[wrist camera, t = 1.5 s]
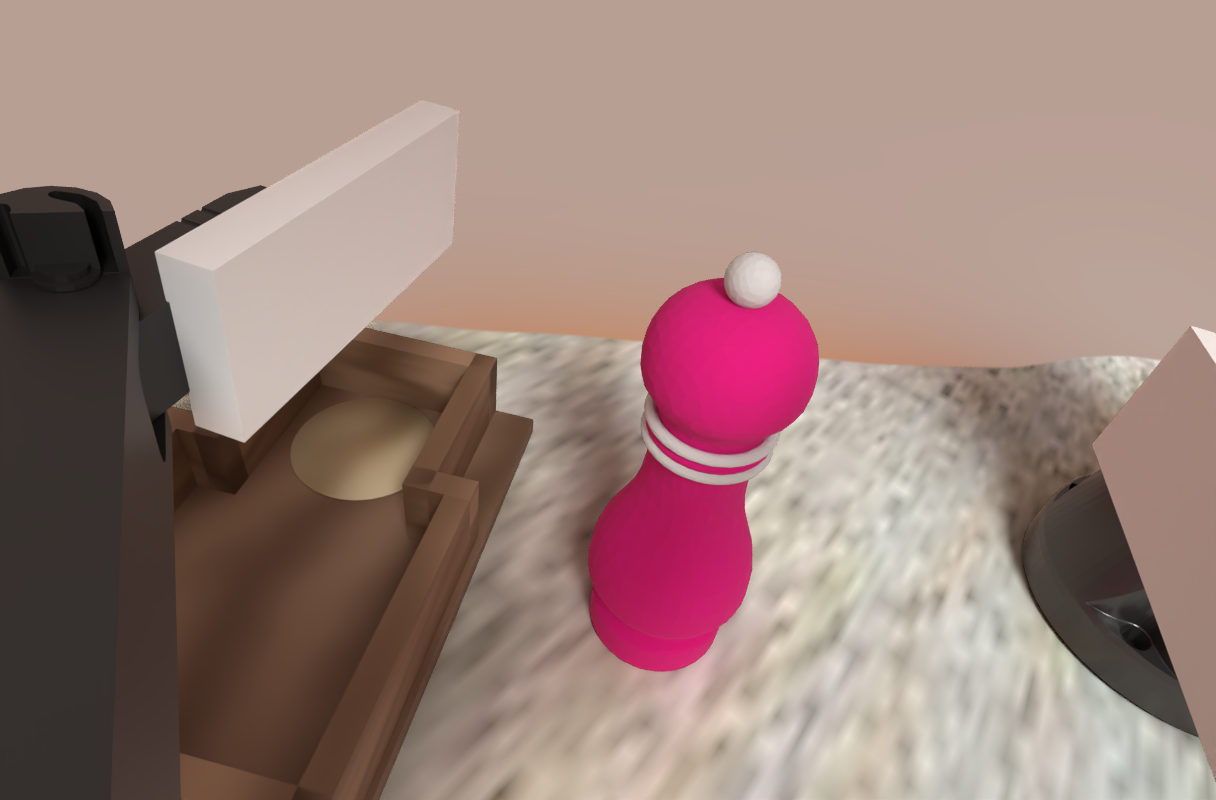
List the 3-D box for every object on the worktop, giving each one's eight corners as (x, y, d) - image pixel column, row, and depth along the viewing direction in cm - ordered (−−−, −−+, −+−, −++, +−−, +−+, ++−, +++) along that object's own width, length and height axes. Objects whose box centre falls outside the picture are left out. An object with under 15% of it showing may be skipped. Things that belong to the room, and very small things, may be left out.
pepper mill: (661, 529, 40) (756, 183, 26) (757, 631, 36) (925, 285, 22) (550, 593, 36) (595, 227, 23) (643, 714, 32) (764, 358, 19)
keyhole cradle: (532, 431, 44) (537, 367, 41) (342, 886, 26) (323, 838, 23) (279, 371, 45) (264, 304, 42) (-67, 768, 27) (-142, 705, 24)
